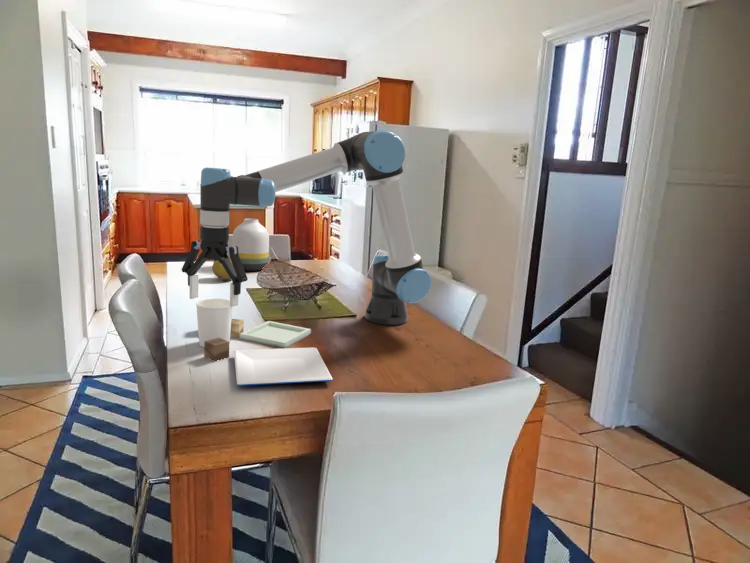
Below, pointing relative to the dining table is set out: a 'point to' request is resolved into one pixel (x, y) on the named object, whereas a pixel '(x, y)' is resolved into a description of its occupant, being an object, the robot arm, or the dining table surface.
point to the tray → (275, 334)
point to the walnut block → (216, 349)
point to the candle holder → (213, 319)
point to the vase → (252, 244)
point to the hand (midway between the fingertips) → (213, 302)
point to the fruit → (220, 270)
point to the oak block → (236, 328)
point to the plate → (279, 366)
